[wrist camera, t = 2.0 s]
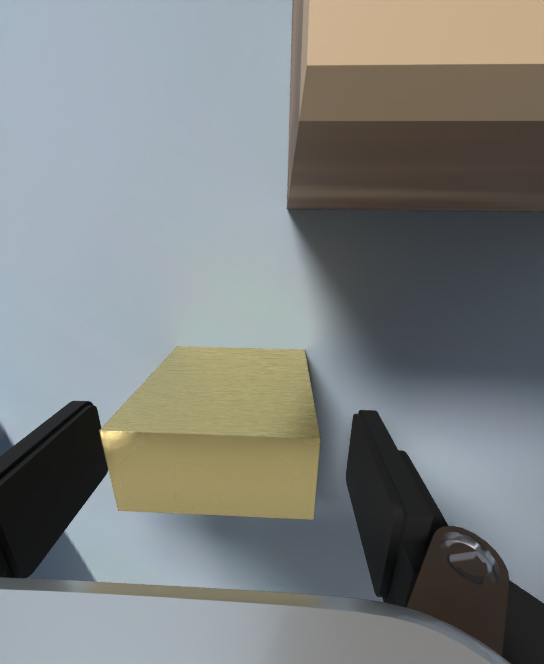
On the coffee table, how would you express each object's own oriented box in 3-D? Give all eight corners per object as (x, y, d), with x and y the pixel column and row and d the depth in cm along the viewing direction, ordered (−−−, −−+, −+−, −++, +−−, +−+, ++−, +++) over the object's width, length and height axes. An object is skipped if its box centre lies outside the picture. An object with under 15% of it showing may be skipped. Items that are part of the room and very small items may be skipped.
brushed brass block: (177, 345, 13) (99, 430, 8) (304, 349, 13) (320, 438, 8) (183, 400, 14) (118, 510, 9) (301, 404, 14) (313, 519, 9)
